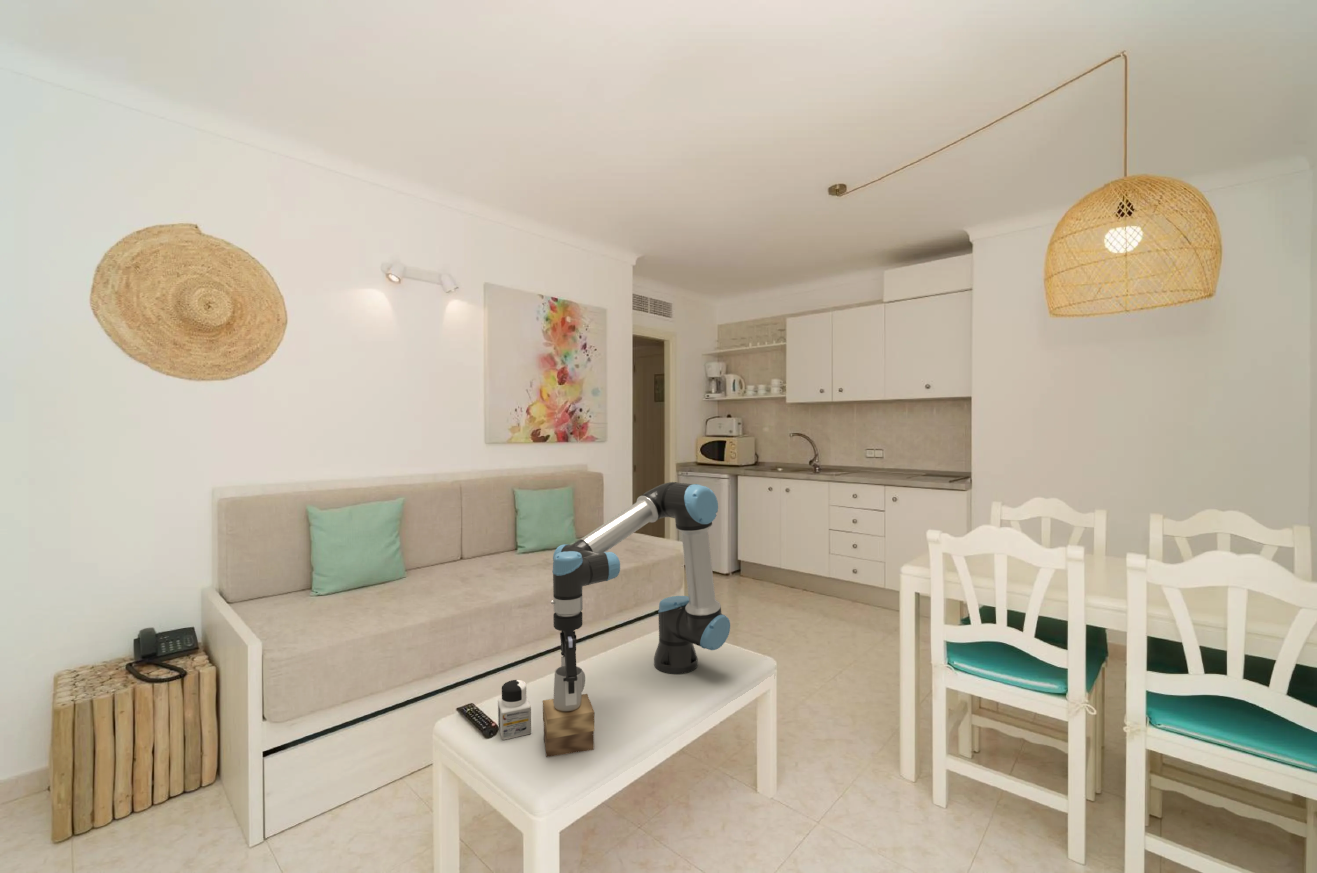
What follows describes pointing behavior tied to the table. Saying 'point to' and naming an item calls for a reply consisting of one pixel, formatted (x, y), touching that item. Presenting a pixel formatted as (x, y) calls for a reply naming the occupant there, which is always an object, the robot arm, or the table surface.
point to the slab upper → (568, 719)
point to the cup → (560, 689)
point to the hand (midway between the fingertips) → (568, 691)
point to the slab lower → (569, 744)
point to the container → (514, 710)
